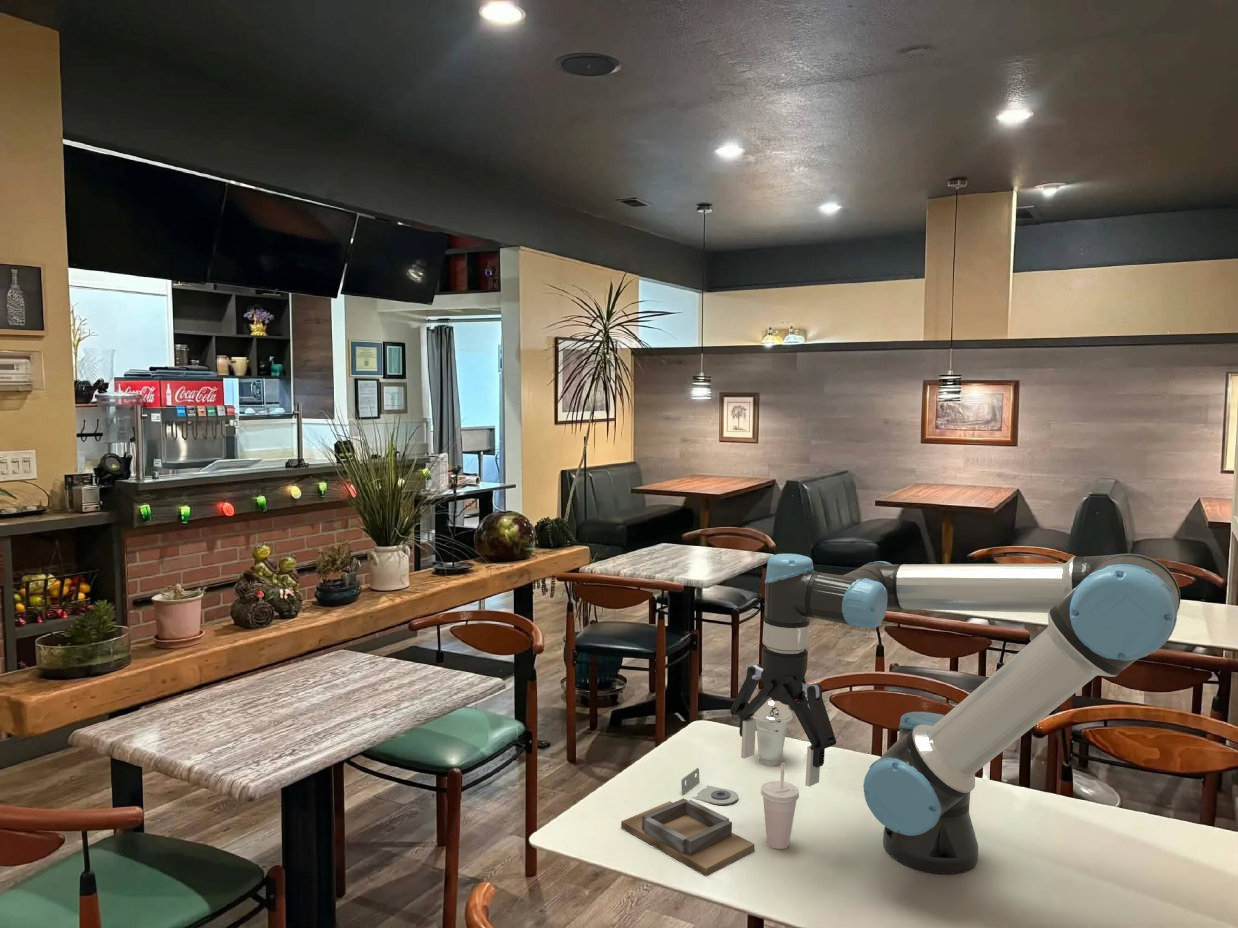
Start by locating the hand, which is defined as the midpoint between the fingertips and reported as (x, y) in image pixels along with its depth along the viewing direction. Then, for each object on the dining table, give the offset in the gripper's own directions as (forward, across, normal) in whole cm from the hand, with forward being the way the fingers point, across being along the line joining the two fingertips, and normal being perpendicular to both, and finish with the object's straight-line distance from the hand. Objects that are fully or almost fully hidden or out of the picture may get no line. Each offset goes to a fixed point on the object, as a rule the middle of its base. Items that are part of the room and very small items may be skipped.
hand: (778, 769), depth 152 cm
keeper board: (+13, +10, +11) cm, 20 cm away
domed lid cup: (+13, +22, -26) cm, 36 cm away
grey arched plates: (+14, +20, -5) cm, 24 cm away
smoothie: (+13, 0, 0) cm, 13 cm away
